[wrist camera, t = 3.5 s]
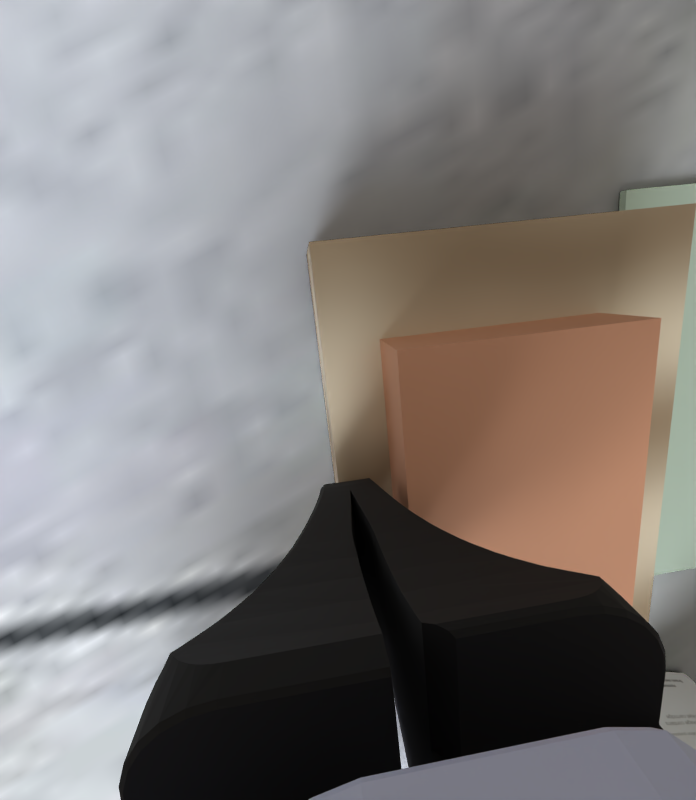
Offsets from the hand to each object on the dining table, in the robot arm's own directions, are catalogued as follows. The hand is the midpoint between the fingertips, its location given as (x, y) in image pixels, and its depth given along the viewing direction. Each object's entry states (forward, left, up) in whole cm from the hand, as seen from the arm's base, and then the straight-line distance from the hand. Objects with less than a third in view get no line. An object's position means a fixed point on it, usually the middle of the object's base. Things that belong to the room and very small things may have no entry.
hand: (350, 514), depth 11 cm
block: (0, -4, -1) cm, 4 cm away
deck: (0, -5, -5) cm, 7 cm away
